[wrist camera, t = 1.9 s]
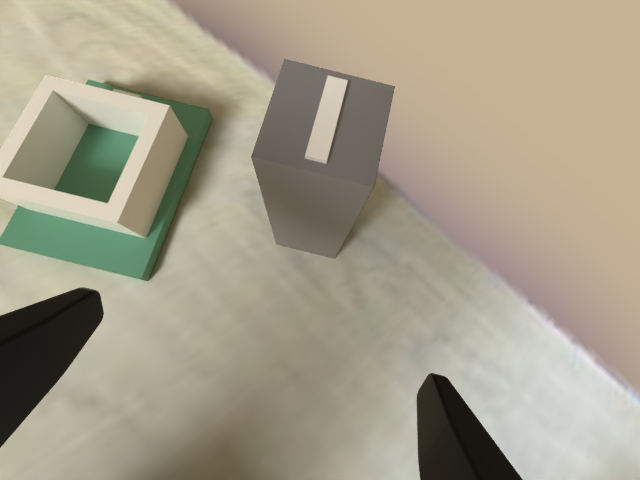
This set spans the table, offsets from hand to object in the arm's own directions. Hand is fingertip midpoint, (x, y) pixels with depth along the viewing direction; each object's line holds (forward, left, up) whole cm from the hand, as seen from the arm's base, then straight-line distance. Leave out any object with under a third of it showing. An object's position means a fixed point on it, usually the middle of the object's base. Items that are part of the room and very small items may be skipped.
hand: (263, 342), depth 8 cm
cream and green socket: (+15, +9, -14) cm, 22 cm away
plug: (+7, -4, -14) cm, 16 cm away
